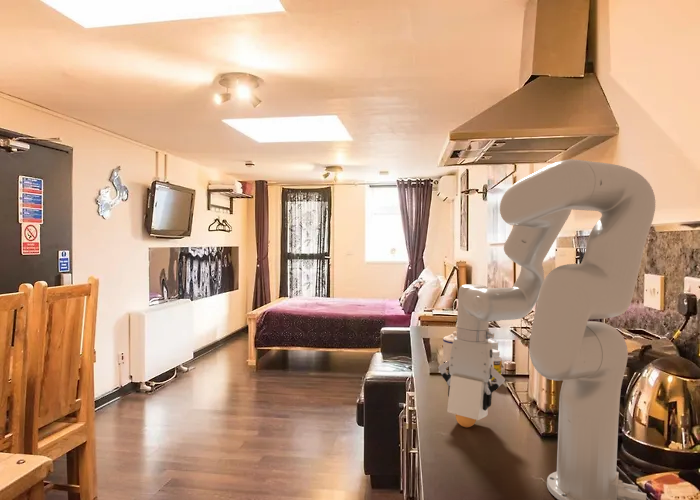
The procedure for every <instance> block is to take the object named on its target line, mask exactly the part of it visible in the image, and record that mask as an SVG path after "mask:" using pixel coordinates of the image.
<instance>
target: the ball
mask: <svg viewBox="0 0 700 500" xmlns="http://www.w3.org/2000/svg"><path fill="white" fill-rule="evenodd" d="M455 420H456V422H457V423H458V424H459V425H460V426H461V427H464V428H471V427H472V426H474V425H475V423H476V422H477V420H476V419H472V418H468V417H464V416H460V415H456V414H455Z"/></svg>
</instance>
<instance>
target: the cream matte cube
mask: <svg viewBox="0 0 700 500" xmlns="http://www.w3.org/2000/svg"><path fill="white" fill-rule="evenodd" d="M450 376H451V375H450ZM489 381H490V383H491V380H489ZM484 393H485V390H484V383H483V382H481V381H477V380H472V379H467V378H463V377H458V376H453V375H452V376H451V381H450V390H449V397H448V400H447V411H446V412H447V413H449V414H454V415H455V416H456V415H460V416H464V417H468V418H472V419H476V421H480V420H481V419H483V418H486V417H487V416H488V411H489V408H488V409H487V410H486V411H485V410H483V395H484Z"/></svg>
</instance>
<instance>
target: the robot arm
mask: <svg viewBox="0 0 700 500" xmlns="http://www.w3.org/2000/svg"><path fill="white" fill-rule="evenodd" d="M572 210H573V211H577V210H578V211H589V212H590V211H591V212H592V211H593V212H594V211H595V212H599V213H600V214H601V217H600V218H599V220H598V221H597V222H596V223H595V225H594V226H593V228H592V229H591V231H590V233H589V235H588V238H587V241H586V246H585V251H584V255H583V258H582V261H581V263H569V264H563V265H559V266H557V267H555V268H553V269H552V270H551V271H550V272H549V273H548V274H547V275H546V276H545V271H544V267H543V262H544V260H545V258H546V257H547V255H548V254H549V251H550V249H551V248H552V246H553V244H554V243H555V241H556V239H557V237H558V236H559V234H560V233H561V231H562V230H563V228H564V225H565V223H567V220H568V218H570V217H569V216H570V214H571V212H572ZM655 211H656V195H655V192H654V190H653V187H652V186H651V184H650V182H649V181H648V180H647V179H646V177H644V176H643V175H642V174H641V173H639V172H637V171H635V170H633V169H631V168H628V167H626V166H623V165H619V164H615V163H614V164H613V163H606V162H600V161H591V160H584V159H583V160H581V159H564V160H558V161H556V162H554V163H552V164H549V165H547V166H545V167H543V168H541V169H539V170H538V171H536V172H534V173H532V174H529V175H527V176H526V177H524V178H522V179H520V180H518V181H517V182H515V183H514V184H512V185H511V186H510V187H509V188H508V189H507V190H506V191H505V192H504V193H503V195H502V197H501V199H500V204H499V213H500V216H501V219H502V220H503V221H504V222H505V223H506V224H508V225H510V226H513V227H512V229H511V230H510V233H509V235H508V236H507V239H506V241H505V243H504V244H503V245H504V246H503V251H504V254H505V255H506V256H507V258H508V259H510V260H511V261H512V262H513V263H515V264H516V265H518V266H520V271H519V274H518V277H517V278H516V280H515V282H514V283H513V286H512V287H495V288H494V287H493V288H492V287H490V288H489V287H487V286H485V285H482V284H473V283H472V284H470V283H469V284H467V283H466V284H462V285H461V286H459V288H458V292H457V293H458V295H457V296H458V299H457V318H456V319H457V320H456V332H457V337H455V338H454V340H453V344H452V349H451V355H450V360H449V361H447V362H445V363H444V362H443V363H442V364H440V365H438V367H437V368H438V370H439V372H440V374H441V377H442V378H443V379H444V381H445V382H446V384H447V386H448V388H447V390H448V392H447V396H448V398H449V390H450V381H451V376H452V375H453V376H458V377H463V378H467V379H472V380H477V381H481V382H483V383H484V390H485V393H484V395H483V410H485V411H486V410H487V409H488V410H489V407H491V406H492V397H493V396H492V394H493V393H494V392H495V391H497V390H498V389H499V388H500V387H501V386H502V385H503V383H504V382H505V381H506V378H505V377H504V376H503V375H502V373H501V374H500V373H498V372H497V371H496V370H495V369H494V368H493V350H492V343H491V341H488V339H491V340H493V339H494V338H495V333H494V332H491V331H490V328H489V326H490V325H489V322H499V321H510V320H515V321H516V320H520V319H523V318H525V317H526V316H527V315H529V313H530V312H531V311H532V310H533V309H534V307H536V308H535V312H534V316H533V321H532V327H531V332H530V335H529V336H530V337H529V348H528V349H529V356H530V357H529V358H530V360H531V364H532V365H533V367H534V369H535V371H537V373H539V375H541V376H542V377H544V378H545V379H547V380H551V381H559V382H560V381H562V383H561V388H560V392H559V402H558V403H559V405H558V424H557V425H558V428H557V429H558V431H557V453H556V471H554V472H552V473H550V474H549V475H548V476H547V479H546V486H547V490H548V491H549V492H550V494H551V495H552V496H554V498H555V499H557V500H647V493H645V492H642V491H639V486H638V485H634V484H629V483H625V482H623V480H621V479H619V474H620V473H619V471H617V465H618V464H617V461H618V439H619V417H620V402H621V391H622V390H621V389H622V385H623V379H624V376H625V373H626V368H627V363H628V359H629V358H628V357H629V356H628V350H629V349H628V345H627V342H626V339H625V337H624V336H623V335H622V333H621V332H620V331H619V330H617V329H616V328H615V327H614V326H612V325H610V324H608V323H606V322H601V321H595V320H603V319H610V318H611V319H612V318H616V317H619V316H621V315H624V314H625V313H626V312H627V310H629V308H630V306H631V304H632V300H633V298H634V297H633V296H634V292H635V289H636V285H637V281H638V276H639V272H640V268H641V263H642V260H643V256H644V250H645V246H646V242H647V239H648V236H649V233H650V230H651V227H652V223H653V221H654V217H655V214H656V213H655ZM590 320H592V321H590ZM593 320H594V321H593ZM447 368H448V371H447ZM493 377H494V378H495V379H496V380H497V382H496V383H495V384H491V383H490V381H489V380H490V379H492V378H493Z"/></svg>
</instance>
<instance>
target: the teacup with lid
mask: <svg viewBox="0 0 700 500" xmlns="http://www.w3.org/2000/svg"><path fill="white" fill-rule="evenodd" d="M455 337H457V331H453V332H452V333H451V334H449V335H446V336H444V337H443V338H442V341H443V343H442V345H443V347H442V362H443V363H444V362H446V361H449V360H450V355H451V349H452V344H453V340H454V338H455Z"/></svg>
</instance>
